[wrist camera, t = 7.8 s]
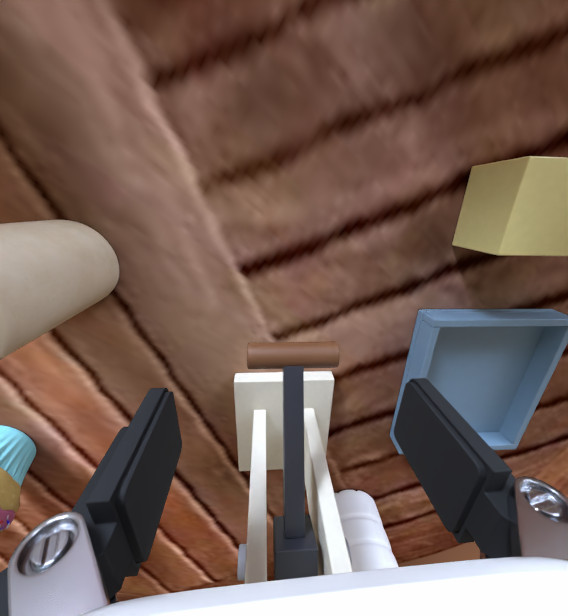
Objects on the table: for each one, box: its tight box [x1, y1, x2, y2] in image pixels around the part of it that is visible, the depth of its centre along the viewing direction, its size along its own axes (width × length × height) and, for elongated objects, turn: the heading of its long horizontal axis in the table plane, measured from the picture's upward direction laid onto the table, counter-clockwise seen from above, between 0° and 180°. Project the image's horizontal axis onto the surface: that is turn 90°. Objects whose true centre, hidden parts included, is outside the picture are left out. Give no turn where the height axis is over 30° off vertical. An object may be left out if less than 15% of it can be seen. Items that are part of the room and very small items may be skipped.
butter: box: [452, 156, 568, 256], centre depth 16 cm, size 5×4×4 cm
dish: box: [390, 309, 568, 454], centre depth 22 cm, size 13×11×2 cm
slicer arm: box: [247, 342, 339, 581], centre depth 14 cm, size 13×5×2 cm, turn 178°
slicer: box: [234, 371, 353, 584], centre depth 18 cm, size 10×8×12 cm
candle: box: [0, 220, 119, 360], centre depth 13 cm, size 6×6×10 cm
